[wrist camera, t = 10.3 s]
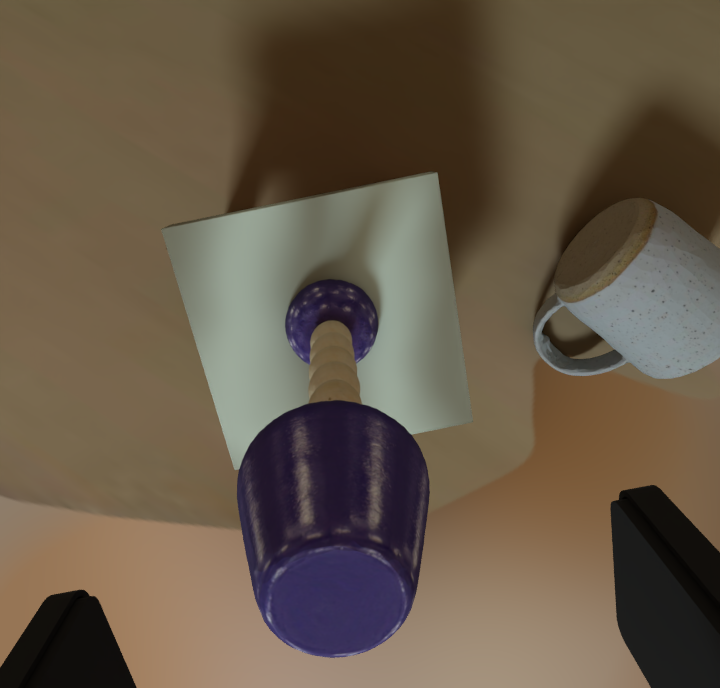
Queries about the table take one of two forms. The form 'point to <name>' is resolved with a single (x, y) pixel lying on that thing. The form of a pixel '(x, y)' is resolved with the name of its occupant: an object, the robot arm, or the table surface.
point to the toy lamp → (333, 493)
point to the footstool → (315, 263)
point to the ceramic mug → (638, 293)
